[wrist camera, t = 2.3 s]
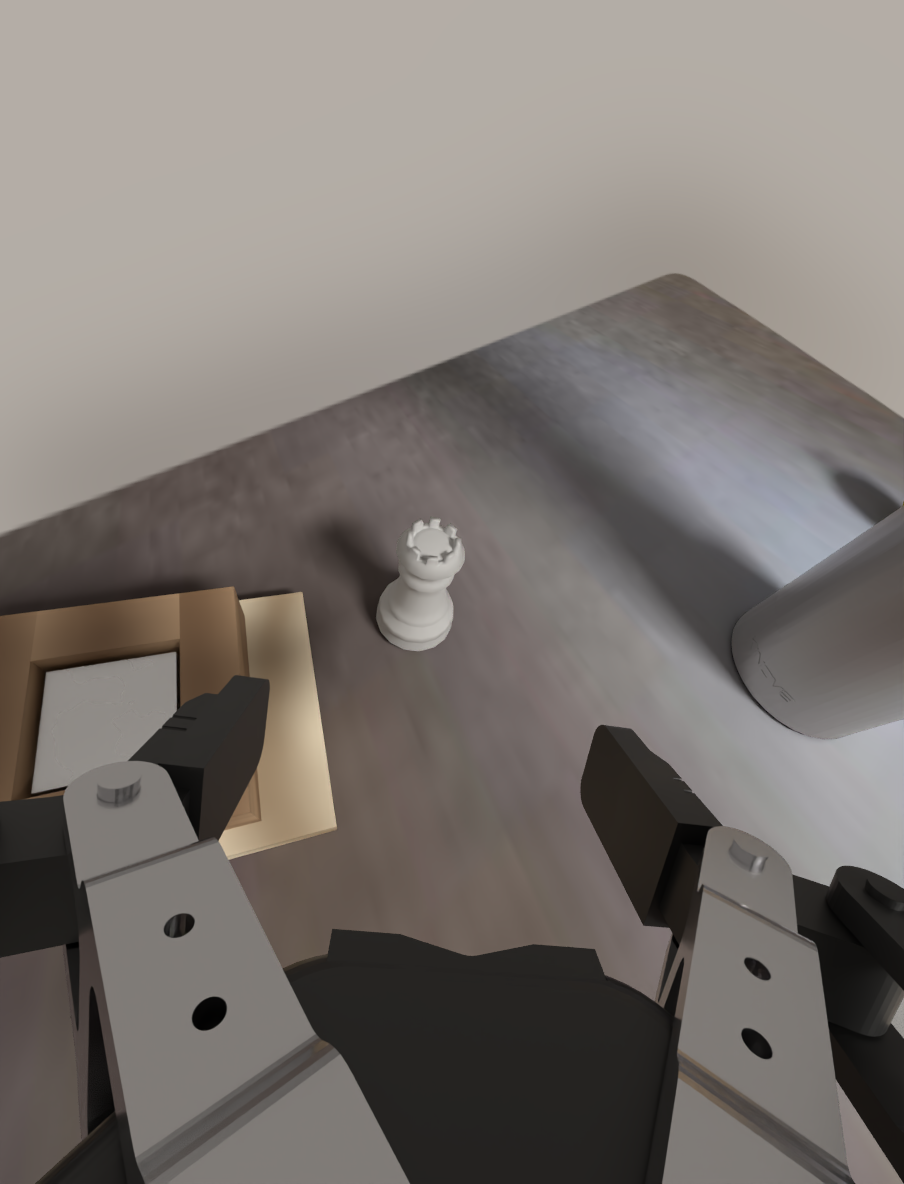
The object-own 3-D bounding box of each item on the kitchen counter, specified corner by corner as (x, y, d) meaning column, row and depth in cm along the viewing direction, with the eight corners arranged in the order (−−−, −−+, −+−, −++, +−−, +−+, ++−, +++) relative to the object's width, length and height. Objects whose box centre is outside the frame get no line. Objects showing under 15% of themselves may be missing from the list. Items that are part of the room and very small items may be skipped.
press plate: (181, 658, 22) (176, 651, 21) (182, 766, 20) (177, 761, 19) (56, 679, 21) (46, 672, 20) (43, 796, 19) (31, 793, 18)
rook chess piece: (362, 604, 29) (366, 518, 22) (426, 577, 31) (449, 489, 24) (398, 667, 27) (416, 595, 20) (464, 634, 29) (500, 558, 22)
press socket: (304, 605, 28) (297, 561, 24) (337, 829, 23) (335, 818, 19) (-43, 654, 23) (-118, 609, 20) (-107, 952, 18) (-229, 970, 14)
